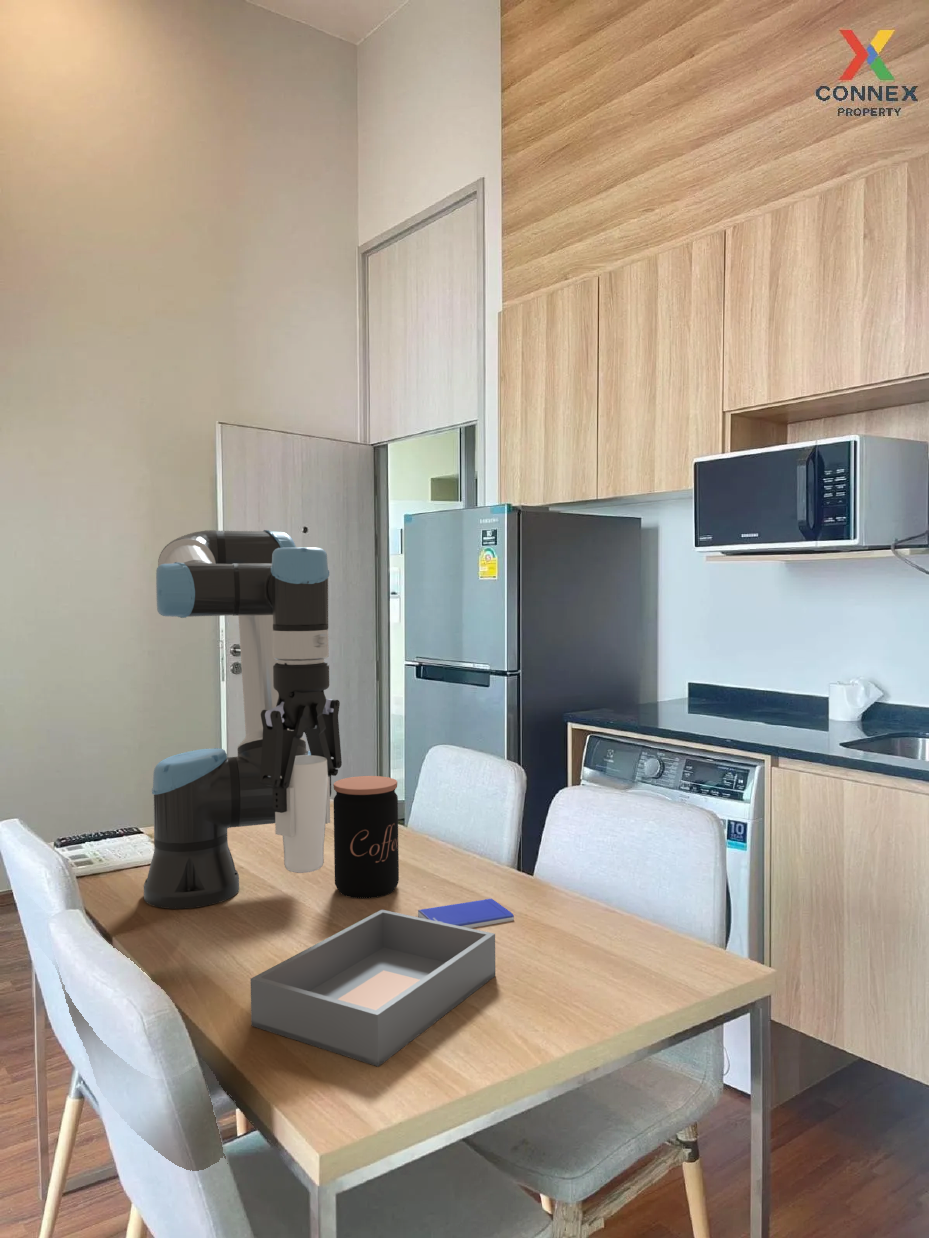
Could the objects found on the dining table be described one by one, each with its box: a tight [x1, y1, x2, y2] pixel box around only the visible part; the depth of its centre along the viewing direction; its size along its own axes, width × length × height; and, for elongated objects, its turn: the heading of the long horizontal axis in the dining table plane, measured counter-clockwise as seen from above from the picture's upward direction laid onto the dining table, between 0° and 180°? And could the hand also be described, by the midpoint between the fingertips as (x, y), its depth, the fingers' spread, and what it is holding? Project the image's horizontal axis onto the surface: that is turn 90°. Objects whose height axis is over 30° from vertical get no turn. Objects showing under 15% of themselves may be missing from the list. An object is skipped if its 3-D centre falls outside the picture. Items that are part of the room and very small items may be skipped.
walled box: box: [250, 909, 496, 1068], centre depth 110 cm, size 18×26×6 cm
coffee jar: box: [332, 775, 400, 899], centre depth 151 cm, size 11×11×18 cm
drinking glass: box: [280, 755, 328, 874], centre depth 124 cm, size 7×7×15 cm
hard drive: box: [417, 898, 515, 929], centre depth 137 cm, size 2×8×12 cm
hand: (303, 827), depth 124 cm, fingers closed on drinking glass, 7 cm apart
